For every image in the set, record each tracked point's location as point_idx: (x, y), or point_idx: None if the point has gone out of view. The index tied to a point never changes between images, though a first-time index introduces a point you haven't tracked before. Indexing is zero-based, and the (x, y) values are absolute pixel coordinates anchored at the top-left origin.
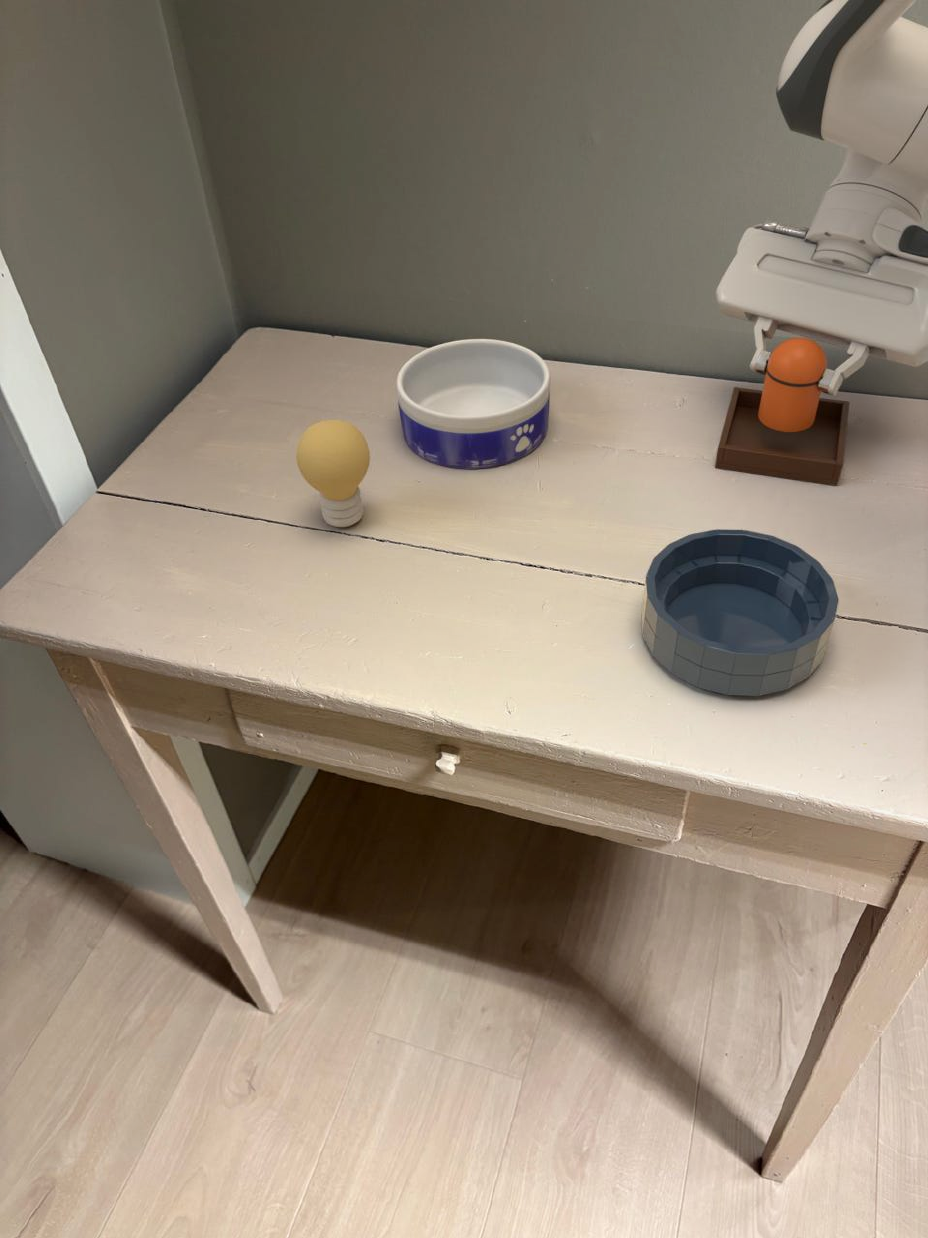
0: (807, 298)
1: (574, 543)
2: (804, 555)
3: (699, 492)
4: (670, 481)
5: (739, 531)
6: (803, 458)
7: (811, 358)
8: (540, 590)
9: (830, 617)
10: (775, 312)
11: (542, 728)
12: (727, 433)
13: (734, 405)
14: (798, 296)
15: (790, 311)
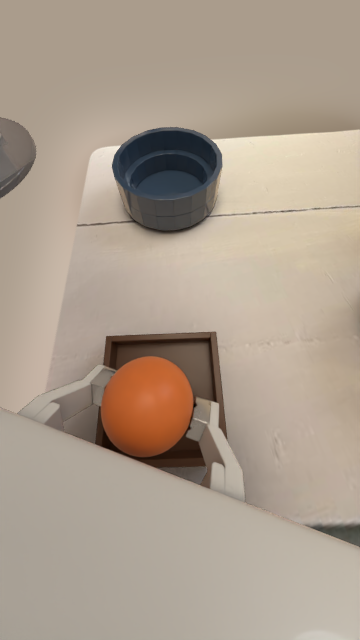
0: (120, 563)
1: (275, 232)
2: (131, 189)
3: (215, 303)
4: (240, 310)
5: (175, 196)
6: (140, 335)
7: (122, 373)
8: (274, 197)
9: (116, 155)
10: (209, 500)
11: (234, 140)
12: (213, 356)
13: (219, 416)
14: (151, 576)
15: (170, 501)
